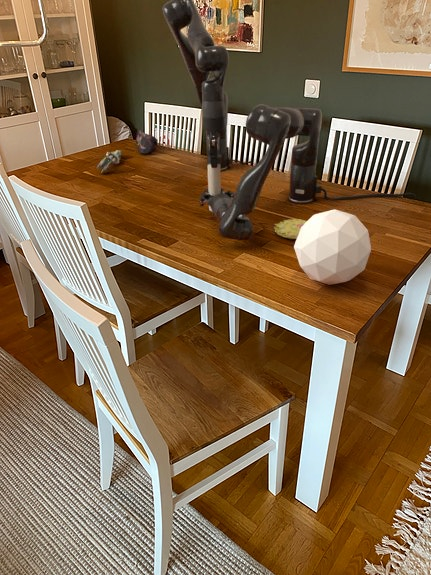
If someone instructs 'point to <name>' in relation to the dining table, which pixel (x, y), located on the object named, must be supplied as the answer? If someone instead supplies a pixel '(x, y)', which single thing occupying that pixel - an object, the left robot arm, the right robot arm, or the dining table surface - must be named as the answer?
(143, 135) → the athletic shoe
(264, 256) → the dining table surface
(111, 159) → the figurine
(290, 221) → the decorative object
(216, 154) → the left robot arm
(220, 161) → the lid
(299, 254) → the sphere
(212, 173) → the bottle
